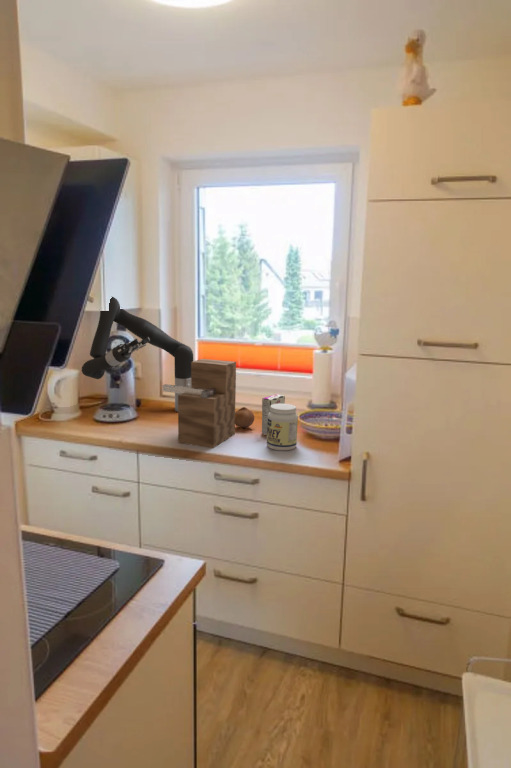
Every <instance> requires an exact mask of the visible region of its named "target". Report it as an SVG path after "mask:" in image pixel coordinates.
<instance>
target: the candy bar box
mask: <svg viewBox="0 0 511 768" xmlns="http://www.w3.org/2000/svg"><path fill="white" fill-rule="evenodd" d="M285 397H286V395H284V394H280V393H276V394H275V393H274V394H273V395H269V396H266V397H263V398H261V399H262V401H261V434H262V435H264V436H267V424H268V414H269V412H270V406H271V405H273V404H286V403H285V402H286V401H285V399H286V398H285Z"/></svg>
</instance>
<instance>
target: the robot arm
mask: <svg viewBox="0 0 511 768" xmlns="http://www.w3.org/2000/svg"><path fill="white" fill-rule="evenodd" d="M111 297H112V298H111V299H110V303H109V311H100V310H99V319H98V324H97V328H96V331H95V334H94V336H93V337H94V338H93V339H92V343H91V347H90V351H89V356H90V357H91V358H92V359H89V360H86V361H85V362H84V363H83V365H82V366H81V373H82V374H83V375H84V376H86V377H89V378H90V379H95V380H100V379H102V378H103V377H104V376H105V372H106V371H109V370H111V369H112V368H114V367H116V366H118V365H120V364H122V363H124V362H126V361H128V360H129V359H130V358H131V356H132V354H131V353H134V352H137V351H138V350H140V349H142V348H145V347H146V346H147V344H149V345H151V346H154V347H156V348H159V349H161V350H164V352H166V353H168V354H169V355H171V356H172V357H173V358H174V385H176V386H185V387H191V362H193V361H194V352H193V349H192V348H191V347H190V346H189V345H186V344H185V343H183V342H180V341H178V340H177V339H174V338H172V336H170V335H169V334H167V333H166V332H165V331H163V330H162V329H160V328H159V327H158V326H157V325H155V324H154V323H152V322H150V321H148V320H147V319H144V318H142V317H139V316H137V315H134V314H132V313H130V312H128V311H127V310H125V308H123V309H120V307H121V305H120V302H119V301H118V299H117V298H116V297H114V296H111ZM114 322H115V323H116V324H119V325H120V326H121V327H123V326H124V327H123V328H125V329H127V331H129V332H130V333H132V334H133V335H135V336H137V338H135V339H133V340H131V341H129V342H125V343H120V344H118V345H116V346H115V347H113V348H112V349H110V350H108V351H107V349H108V345H109V342H110V341H109V340H110V336H111V330H112V327H113V325H114V324H113V323H114ZM138 338H139V339H140V340H139V339H138ZM108 341H109V342H108ZM180 394H182V393H174V411H175V412H177V413H178V395H180Z"/></svg>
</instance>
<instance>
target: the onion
mask: <svg viewBox="0 0 511 768" xmlns="http://www.w3.org/2000/svg"><path fill="white" fill-rule="evenodd" d="M254 421H255V415H254V412H253V411H251V410H250V409H249V408H247V407H244V406H243V407H240V408H239V409H238V410H237V411H236V410H235V427H238V428H241V429H247V428H250V426H252V425H253V423H254Z"/></svg>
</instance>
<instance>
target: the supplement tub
mask: <svg viewBox="0 0 511 768" xmlns="http://www.w3.org/2000/svg"><path fill="white" fill-rule="evenodd" d="M298 421H299V415H298V413H297V406H296V405H294V404H291V403H285V404H273V405H271V406H270V412H269V414H268V424H267V435H266V445H267V447H268V448H269V449H272V450H274V451H275V450H276V451H285V452H286V451H292V450H294V449H295V448H296V447H297V443H298V441H297V440H298V427H299V426H298Z"/></svg>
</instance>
